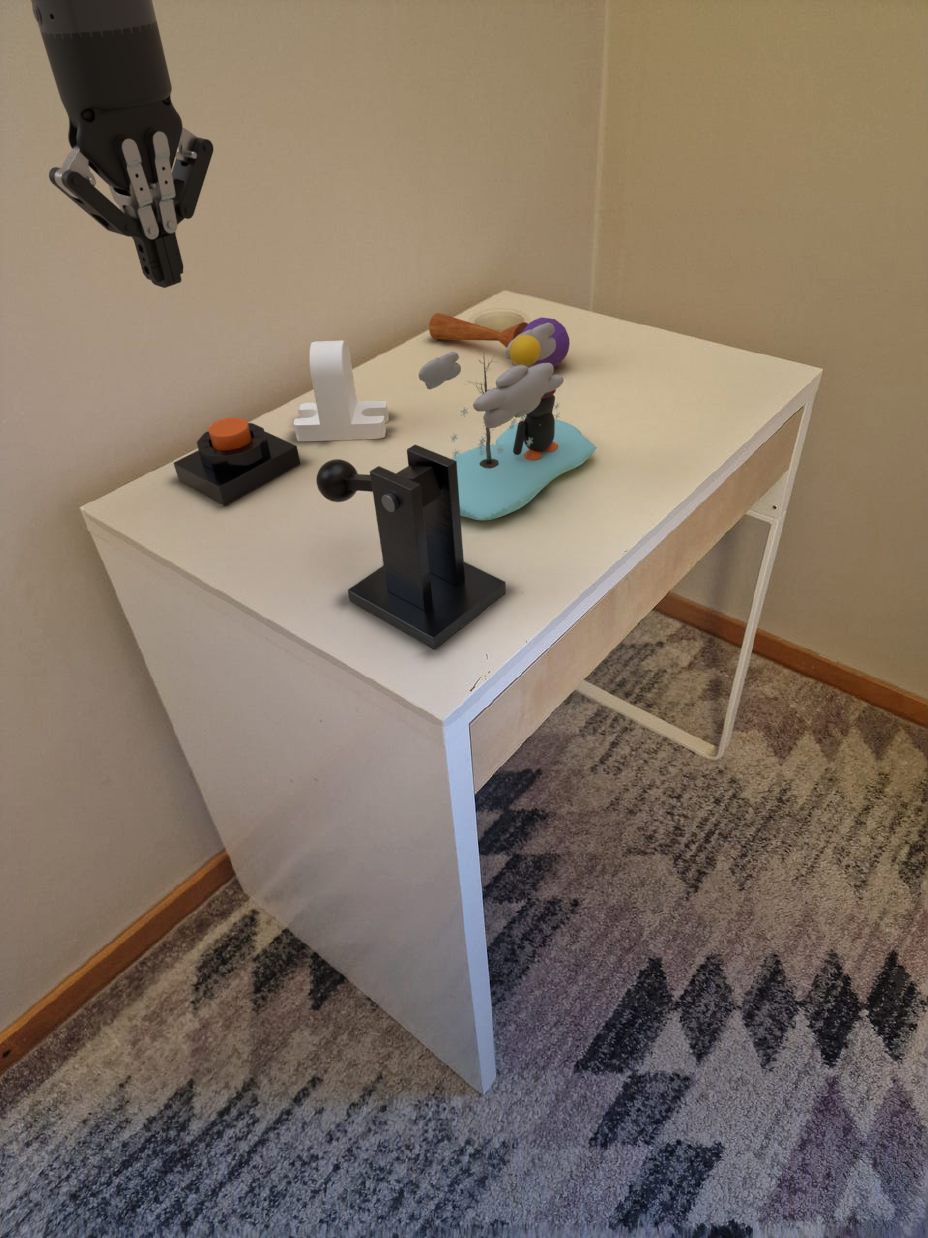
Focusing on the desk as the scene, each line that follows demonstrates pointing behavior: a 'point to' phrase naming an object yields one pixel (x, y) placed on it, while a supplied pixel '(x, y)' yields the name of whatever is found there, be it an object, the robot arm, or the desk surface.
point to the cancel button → (230, 433)
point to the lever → (369, 481)
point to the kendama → (498, 334)
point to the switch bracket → (423, 557)
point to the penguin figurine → (514, 430)
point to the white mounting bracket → (337, 400)
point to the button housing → (236, 465)
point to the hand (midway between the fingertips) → (167, 283)
